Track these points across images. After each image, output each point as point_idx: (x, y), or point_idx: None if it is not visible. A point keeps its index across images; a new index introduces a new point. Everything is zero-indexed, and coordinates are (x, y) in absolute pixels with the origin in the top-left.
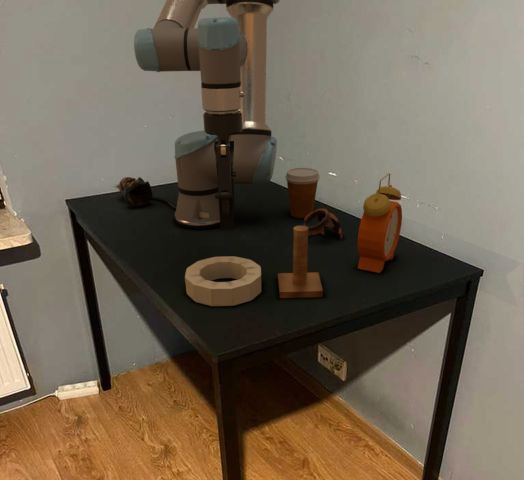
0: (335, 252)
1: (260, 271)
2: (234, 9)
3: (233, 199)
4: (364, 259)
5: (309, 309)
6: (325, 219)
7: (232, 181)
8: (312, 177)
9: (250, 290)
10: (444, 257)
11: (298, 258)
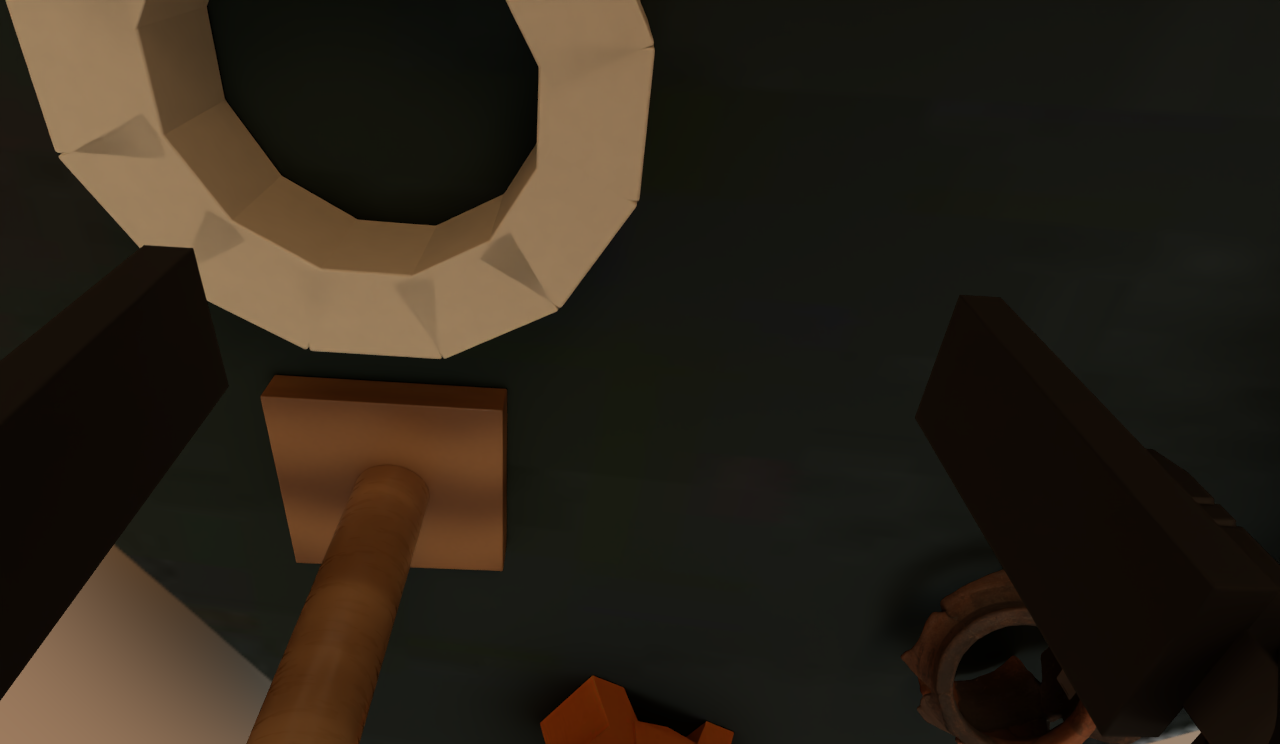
0: (780, 635)
1: (360, 352)
2: None
3: (958, 478)
4: (594, 727)
5: (175, 478)
6: (949, 728)
7: (1080, 684)
8: None
9: None
10: None
11: (306, 600)
